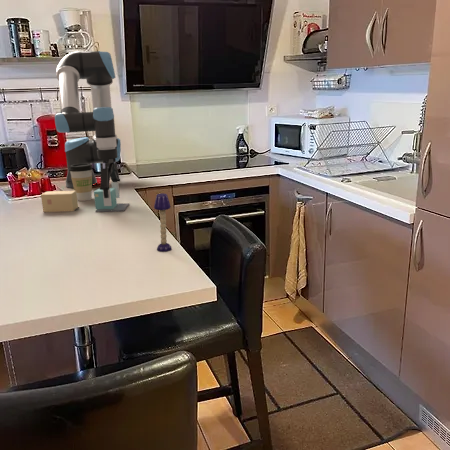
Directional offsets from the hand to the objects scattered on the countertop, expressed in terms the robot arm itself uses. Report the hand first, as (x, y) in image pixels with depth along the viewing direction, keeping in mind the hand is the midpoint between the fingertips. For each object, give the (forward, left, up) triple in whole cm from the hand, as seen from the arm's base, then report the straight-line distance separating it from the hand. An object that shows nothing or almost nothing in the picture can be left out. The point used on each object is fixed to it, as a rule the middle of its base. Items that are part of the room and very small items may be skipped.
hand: (112, 201), depth 186 cm
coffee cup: (-18, -17, -3) cm, 25 cm away
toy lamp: (+52, +28, -3) cm, 59 cm away
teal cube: (0, -2, -2) cm, 3 cm away
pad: (0, 0, -3) cm, 3 cm away
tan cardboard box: (0, -21, -3) cm, 21 cm away
